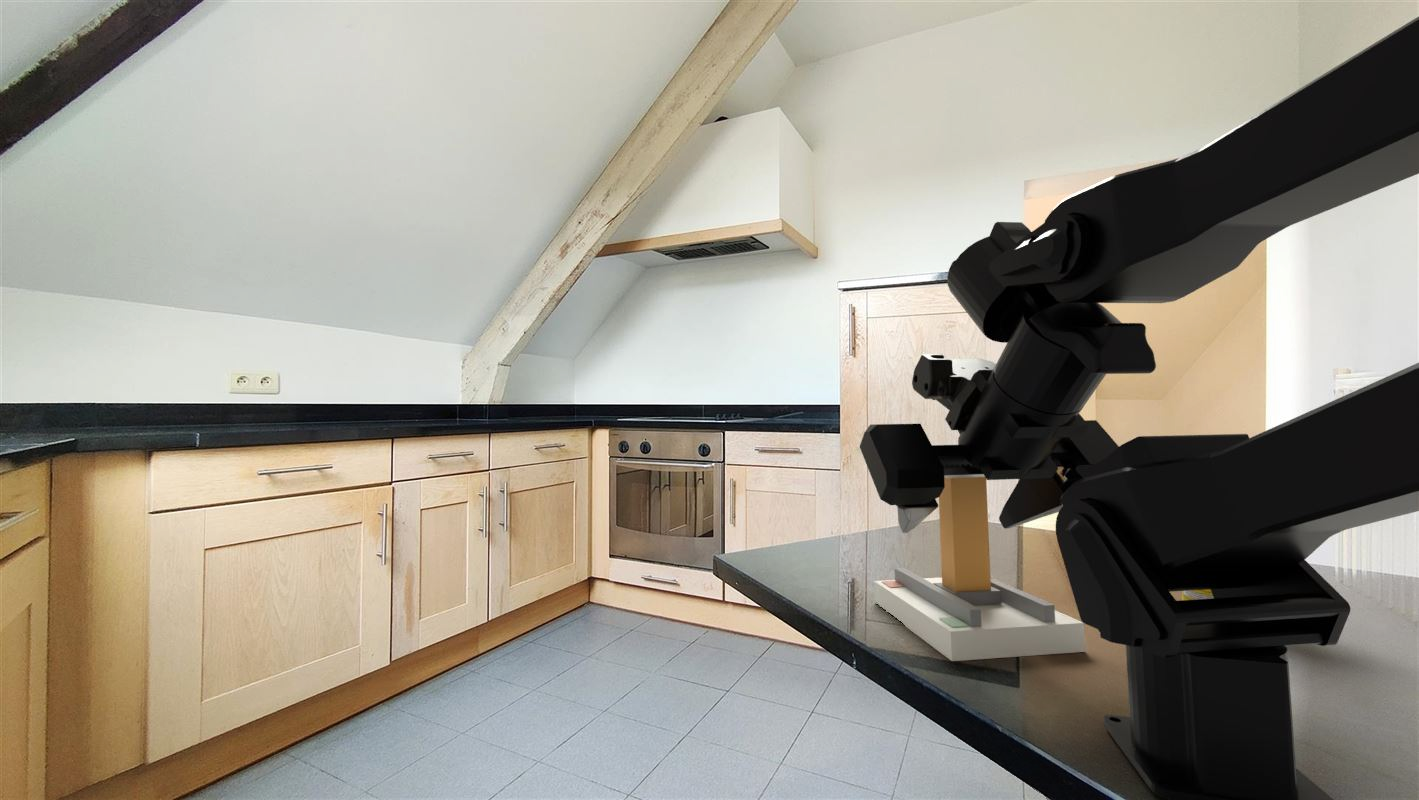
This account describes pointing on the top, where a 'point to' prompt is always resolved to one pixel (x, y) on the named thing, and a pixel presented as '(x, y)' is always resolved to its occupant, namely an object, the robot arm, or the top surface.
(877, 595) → the plate
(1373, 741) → the top surface
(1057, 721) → the top surface
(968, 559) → the handle
